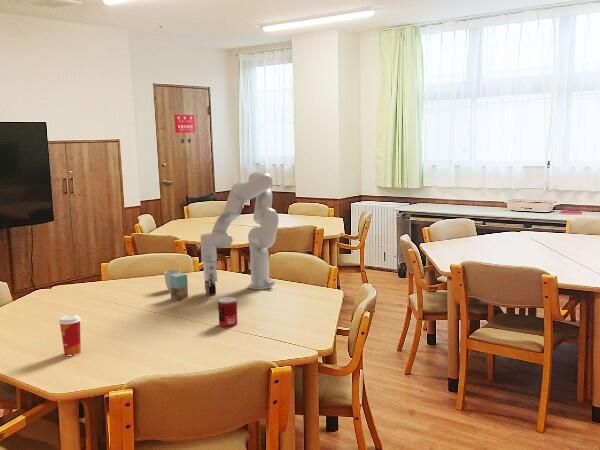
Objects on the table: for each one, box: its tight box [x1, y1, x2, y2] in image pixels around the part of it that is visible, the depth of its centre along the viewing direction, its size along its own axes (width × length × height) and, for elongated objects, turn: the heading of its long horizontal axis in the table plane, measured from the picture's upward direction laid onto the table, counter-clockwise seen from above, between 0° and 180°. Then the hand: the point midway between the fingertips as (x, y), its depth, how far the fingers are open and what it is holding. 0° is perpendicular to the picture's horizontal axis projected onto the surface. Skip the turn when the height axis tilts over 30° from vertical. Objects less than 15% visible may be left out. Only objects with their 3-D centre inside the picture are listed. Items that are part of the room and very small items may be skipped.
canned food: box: [217, 296, 238, 328], centre depth 256 cm, size 8×8×11 cm
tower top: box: [170, 272, 189, 289], centre depth 298 cm, size 6×6×6 cm
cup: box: [163, 269, 181, 292], centre depth 315 cm, size 8×8×10 cm
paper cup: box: [58, 314, 82, 356], centre depth 225 cm, size 8×8×14 cm
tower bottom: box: [170, 287, 189, 302], centre depth 299 cm, size 6×6×6 cm
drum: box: [204, 282, 217, 297], centre depth 304 cm, size 5×5×6 cm
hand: (210, 291), depth 305 cm, fingers open, 9 cm apart
